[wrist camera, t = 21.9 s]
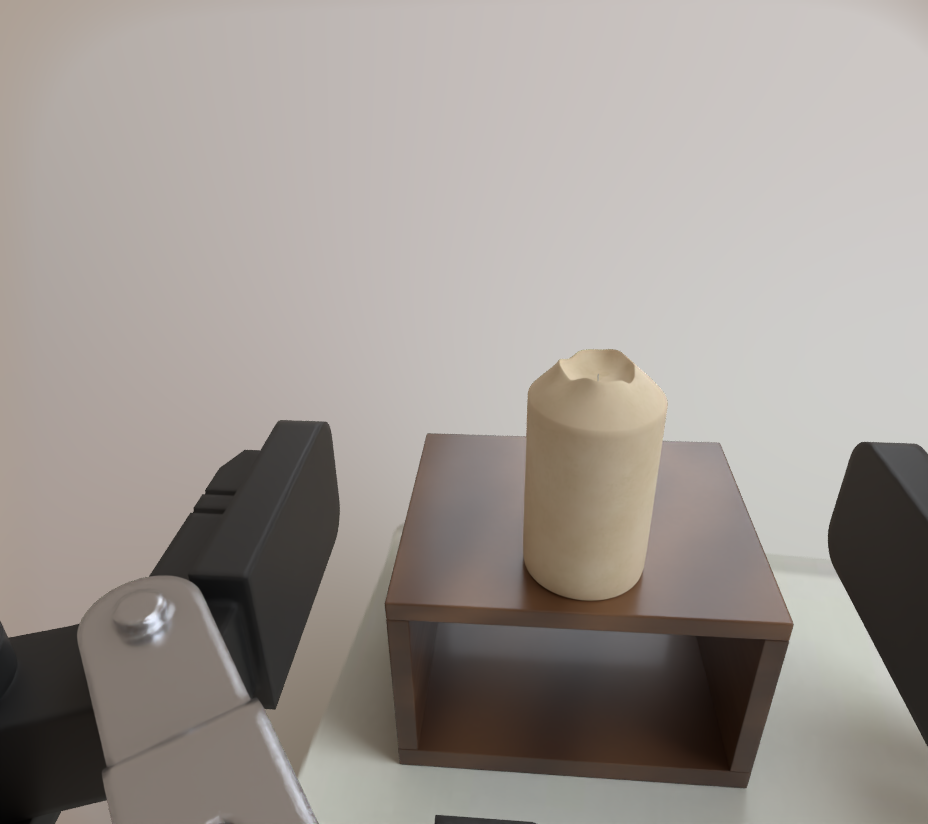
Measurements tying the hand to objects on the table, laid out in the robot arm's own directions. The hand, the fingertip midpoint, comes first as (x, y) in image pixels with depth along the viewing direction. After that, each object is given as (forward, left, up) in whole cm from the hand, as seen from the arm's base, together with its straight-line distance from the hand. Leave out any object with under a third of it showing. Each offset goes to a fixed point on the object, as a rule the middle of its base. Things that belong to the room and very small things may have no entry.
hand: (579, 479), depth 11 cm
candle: (+2, +16, -16) cm, 23 cm away
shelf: (+2, +20, -27) cm, 34 cm away
